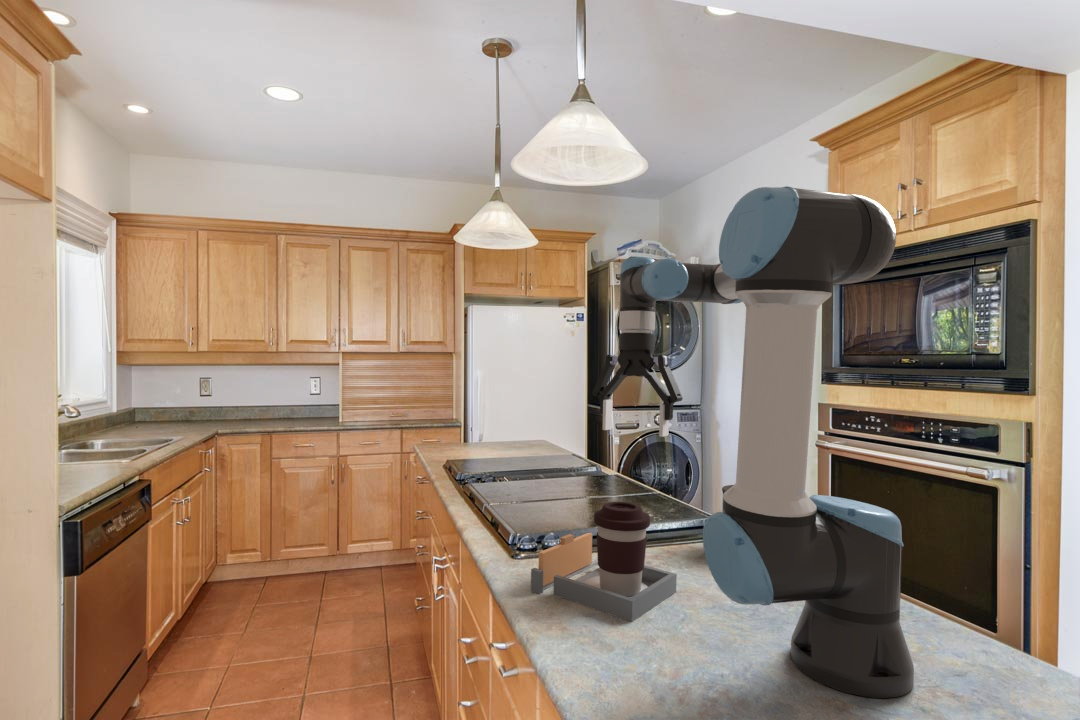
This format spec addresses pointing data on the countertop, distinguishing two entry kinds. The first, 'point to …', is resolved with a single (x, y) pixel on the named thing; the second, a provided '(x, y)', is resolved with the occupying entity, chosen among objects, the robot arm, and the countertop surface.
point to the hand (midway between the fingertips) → (634, 432)
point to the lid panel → (566, 556)
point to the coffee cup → (621, 546)
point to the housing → (590, 594)
